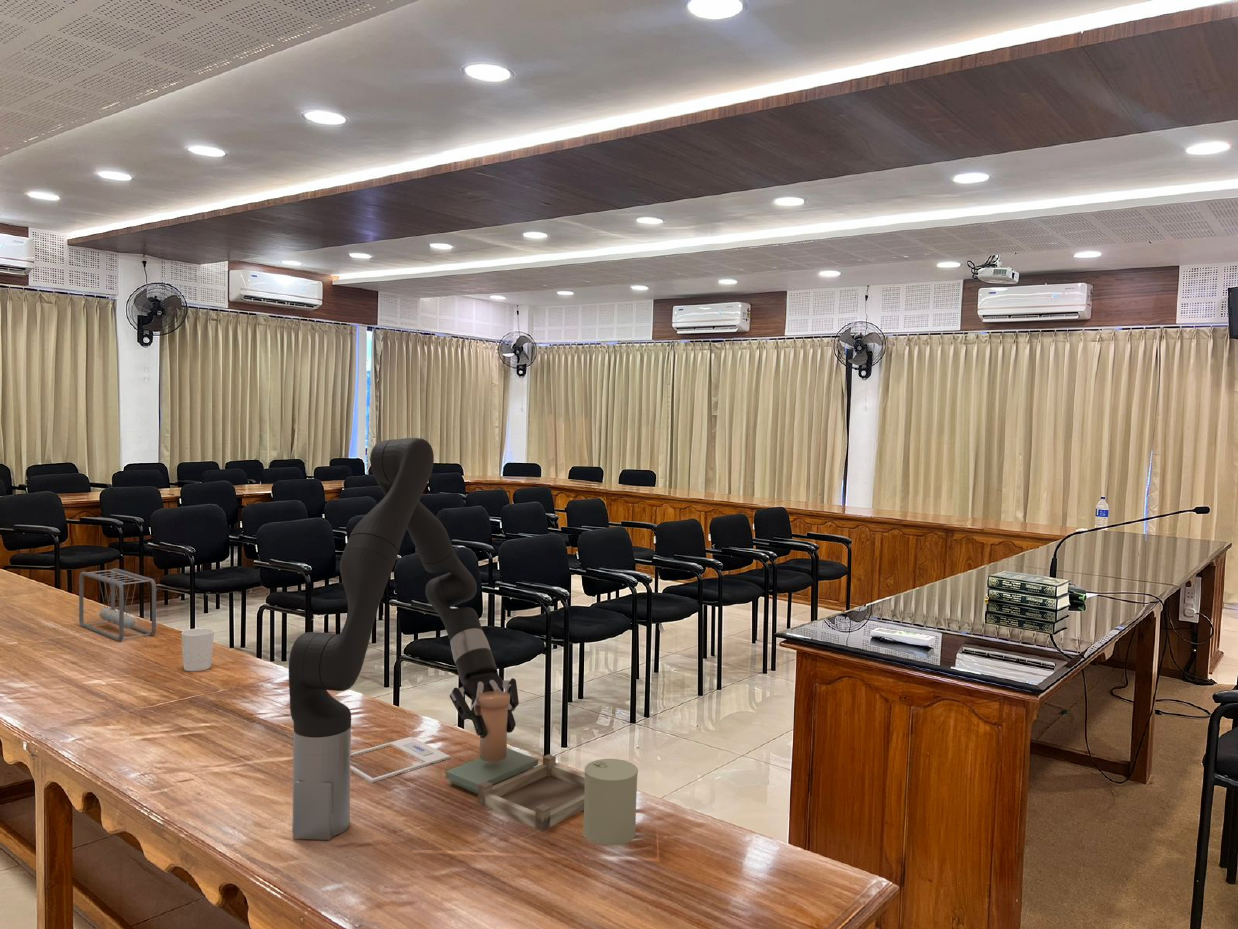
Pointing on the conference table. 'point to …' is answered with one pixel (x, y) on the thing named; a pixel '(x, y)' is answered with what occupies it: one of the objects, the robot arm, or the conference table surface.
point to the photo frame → (407, 746)
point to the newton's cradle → (111, 614)
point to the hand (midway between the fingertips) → (497, 733)
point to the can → (610, 801)
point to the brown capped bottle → (494, 725)
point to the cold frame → (537, 794)
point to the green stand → (490, 770)
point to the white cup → (197, 649)
